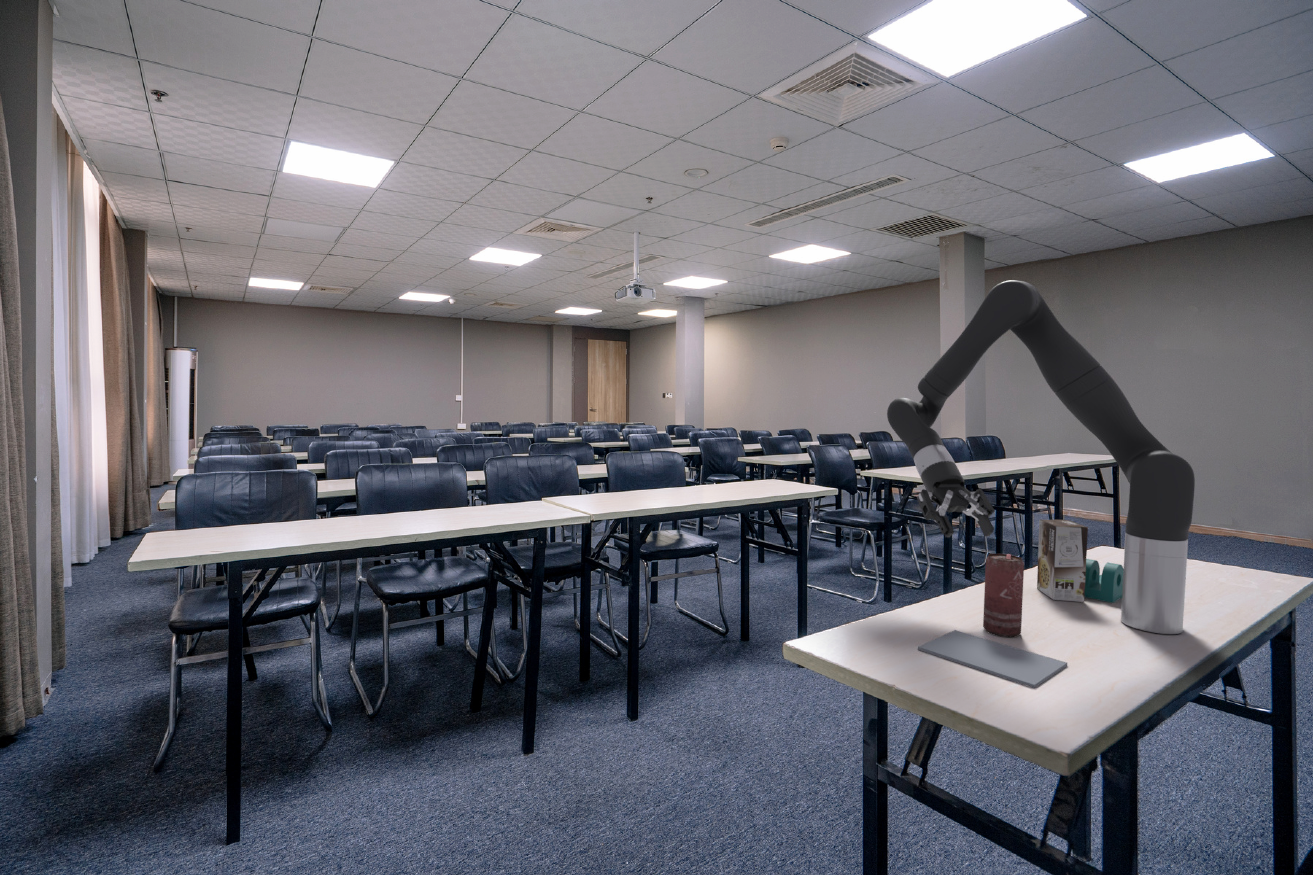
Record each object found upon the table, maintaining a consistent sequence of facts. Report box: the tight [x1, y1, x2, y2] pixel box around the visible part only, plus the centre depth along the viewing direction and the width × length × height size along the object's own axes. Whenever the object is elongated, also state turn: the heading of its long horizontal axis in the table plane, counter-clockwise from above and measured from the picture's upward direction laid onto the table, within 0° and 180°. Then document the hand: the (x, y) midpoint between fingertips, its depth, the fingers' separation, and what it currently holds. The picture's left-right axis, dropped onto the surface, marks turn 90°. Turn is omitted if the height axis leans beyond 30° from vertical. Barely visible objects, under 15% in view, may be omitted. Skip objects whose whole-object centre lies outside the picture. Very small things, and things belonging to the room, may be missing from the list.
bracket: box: [1084, 558, 1124, 604], centre depth 140 cm, size 18×7×8 cm, turn 128°
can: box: [982, 553, 1025, 638], centre depth 114 cm, size 6×6×14 cm
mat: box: [917, 629, 1068, 689], centre depth 103 cm, size 13×18×1 cm
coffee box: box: [1036, 519, 1089, 603], centre depth 137 cm, size 9×6×16 cm
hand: (970, 534), depth 123 cm, fingers open, 8 cm apart
